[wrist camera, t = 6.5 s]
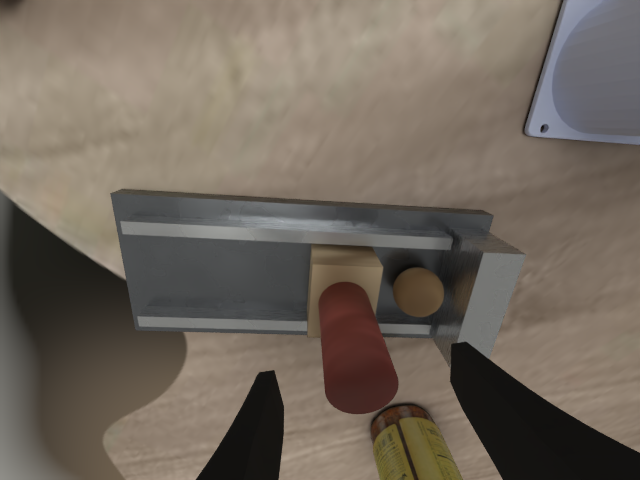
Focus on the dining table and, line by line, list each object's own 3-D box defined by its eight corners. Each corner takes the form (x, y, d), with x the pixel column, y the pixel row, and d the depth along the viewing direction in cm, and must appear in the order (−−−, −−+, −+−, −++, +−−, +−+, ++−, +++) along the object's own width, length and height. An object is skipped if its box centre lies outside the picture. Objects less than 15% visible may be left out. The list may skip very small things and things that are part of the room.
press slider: (372, 246, 20) (421, 339, 11) (362, 310, 22) (399, 430, 13) (311, 243, 20) (317, 336, 11) (307, 308, 21) (308, 430, 13)
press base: (483, 210, 21) (537, 237, 16) (450, 328, 24) (485, 380, 20) (121, 189, 19) (59, 212, 14) (143, 319, 23) (100, 373, 18)
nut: (436, 260, 21) (458, 283, 18) (427, 300, 22) (446, 328, 19) (391, 258, 21) (406, 281, 18) (384, 298, 22) (396, 326, 19)
